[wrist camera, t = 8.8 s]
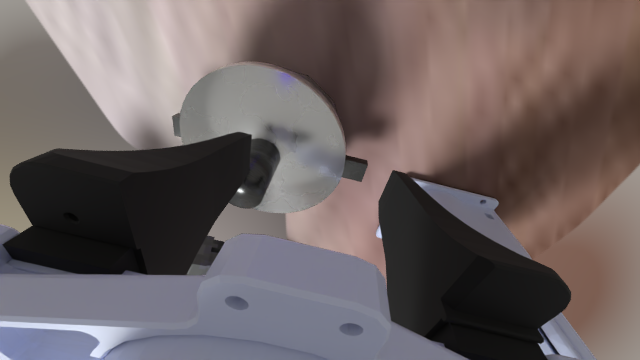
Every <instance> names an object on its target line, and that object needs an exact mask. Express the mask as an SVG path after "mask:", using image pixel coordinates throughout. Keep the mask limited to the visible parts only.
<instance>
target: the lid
mask: <svg viewBox="0 0 640 360" xmlns="http://www.w3.org/2000/svg"><path fill="white" fill-rule="evenodd" d="M235 132H243V133H247V134H251V135H252V140H251V154H250V168H249V172H248V174H247V176H246V178H245V180H244V181H243V183H242V185H241V186H240V188H239V189H238V191H237V192H236V193H235V195H234V196H233V197H232V199H231V200H230V201H229V203H231V204H232V205H234V206H237V207H240V208H253V209H256V210H260V211H265V212H272V213H291V212H297V211H301V210H305V209H308V208H310V207H313V206H315V205H317V204H318V203H320V202H322V201H323V200H324V199H326V198H327V197H328V196H329V195H330V194H331V193H332V192H333V191H334V189H335V188H336V186H337V185H338V183H339V181H340V179H341V177H342V174H343V170H344V165H345V157H346V141H345V135H344V130H343V127H342V124H341V121H340V119H339V117H338V115H337V113H336V111H335V110H334V108H333V107H332V105H331V104H330V102H329V101H328V100H327V99H326V97H325V96H324V95H323V94H322V93H321V92H320V91H319V90H318V89H317V88H316V87H315V86H313V85H312V84H311V83H310V82H308V81H307V80H305V79H304V78H303V77H301V76H299V75H298V74H296V73H294V72H292V71H290V70H288V69H285V68H282V67H280V66H277V65H273V64H268V63H264V62H252V61H250V62H238V63H233V64H229V65H226V66H224V67H221V68H219V69H217V70H215V71H213V72H211V73H210V74H208V75H206V76H205V77H203V78H202V79H200V80H199V81H198V82H197V83H196V84H195V85H194V86H193V87H192V88H191V90H190V91H189V92H188V94H187V96H186V98H185V100H184V102H183V105H182V109H181V113H180V133H181V138H182V142H183V145H188V144H192V143H196V142H201V141H205V140H209V139H212V138H216V137H220V136H223V135H227V134H230V133H235Z"/></svg>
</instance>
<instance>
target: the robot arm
mask: <svg viewBox="0 0 640 360" xmlns="http://www.w3.org/2000/svg"><path fill="white" fill-rule="evenodd" d="M251 140H252V135H251V134H247V133H243V132H235V133H230V134H227V135H223V136H220V137H216V138H212V139H209V140H205V141H201V142H196V143H192V144H188V145H183V146H177V147H170V148H162V149H150V150H137V151H92V150H73V149H54V150H51V151H49V152H46V153H44V154H41V155H39V156H36V157H34V158H31V159H29V160H26V161H24V162H21V163H19V164H18V165H16V166H15V167H13V169H12V171H11V173H10V186H11V188H12V190H13V193H14V195H15V196H16V198H17V200H18V202H19V203H20V205H21V207H22V208H23V210H24V212H25V213H26V215H27V217H28V218H29V220H30V222H31V223H32V225H33V226H31V227H30V228H28V229H26V230H25V231H23V232H22V233H20V232H18V231H17V230H15V229H14V228H12V227H9V226H6V225H2V224H0V360H597V359H596V358H595V357H594V355H593V354H592V353H591V351H590V350H589V349H588V347H587V346H586V345H585V343H584V342H583V341H582V339H581V338H580V337H579V335H578V334H577V333H576V331H575V330H574V329H573V327H572V326H571V325H570V323H569V322H568V321H567V319H566V318H565V317H564V315H563V314H562V313H561V312H562V311H563V310H564V309H565V308H566V307H567V305H568V304H569V302H570V300H571V291H570V290H569V288H568V286H567V285H566V284H565V282H564V281H563V280H562V279H561V278H560V277H559V275H558V274H557V273H556V272H555V271H554V270H553V269H551V268H549V267H547V266H545V265H542V264H540V263H538V262H536V261H533V260H532V259H531V257H530V256H529V254H528V253H527V251H526V250H525V249H524V248H523V246H522V245H521V244H520V243H519V241H518V240H517V239H516V238H515V236H514V235H513V234H512V233H511V231H510V230H509V229H508V228H507V226H506V225H505V224H504V222H503V221H502V220H501V219H500V217H499V216H498V215H497V214H496V212H495V211H494V210H495V208H496V207H497V206H498V204H499V202H498V201H497V200H496V199H495V198H491V197H487V196H483V195H479V194H475V193H471V192H467V191H463V190H459V189H455V188H451V187H447V186H443V185H439V184H435V183H431V182H427V181H423V180H419V179H415V178H411V177H409V176H408V175H407V174H405V173H402V172H398V171H394V170H393V171H392V173H391V176H390V178H389V180H388V182H387V184H386V187H385V189H384V191H383V193H382V195H381V198H380V200H379V223H380V225H379V227H378V229H377V231H376V236H377V237H379V238H382V241H383V247H384V253H385V260H386V276H387V289H386V282H385V278H384V276H383V275H382V274H381V272H380V271H379V270H378V268H377V267H376V266H375V265H373V264H371V263H369V262H367V261H364V260H362V259H360V258H358V257H356V256H352V255H348V254H344V253H339V252H335V251H331V250H327V249H323V248H318V247H314V246H310V245H306V244H302V243H298V242H293V241H289V240H285V239H281V238H277V237H272V236H268V235H264V234H263V235H262V234H240V235H237V236H235V237H233V238H231V239H229V240H226V241H225V243H224V245H223V246H222V248H221V250H220V251H219V253H218V255H217V257H216V258H215V260H214V262H213V263H212V265H211V267H210V268H209V270H208V272H207V273H206V275H187V273H188V271H189V269H190V267H191V265H192V263H193V261H194V259H195V257H196V255H197V253H198V251H199V249H200V247H201V246H202V244H203V242H204V240H205V238H206V236H207V235H208V233H209V231H210V229H211V228H212V226H213V224H214V222H215V221H216V219H217V218H218V216H219V215H220V213H221V212H222V211H223V210H224V208H225V207H226V205H227V204H228V203H229V201H230V200H231V199H232V197H233V196H234V195H235V193H236V192H237V191H238V189H239V188H240V186H241V185H242V183H243V181H244V180H245V178H246V176H247V174H248V172H249V168H250V154H251ZM481 200H483V201H482V202H480V201H481Z"/></svg>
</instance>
